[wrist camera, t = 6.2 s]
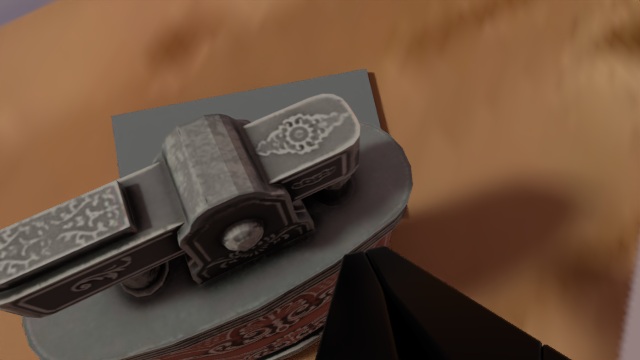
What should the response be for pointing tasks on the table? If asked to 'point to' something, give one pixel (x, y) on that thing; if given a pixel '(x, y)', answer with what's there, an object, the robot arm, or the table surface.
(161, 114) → the pad
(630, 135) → the table surface
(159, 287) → the lighter
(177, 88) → the table surface
